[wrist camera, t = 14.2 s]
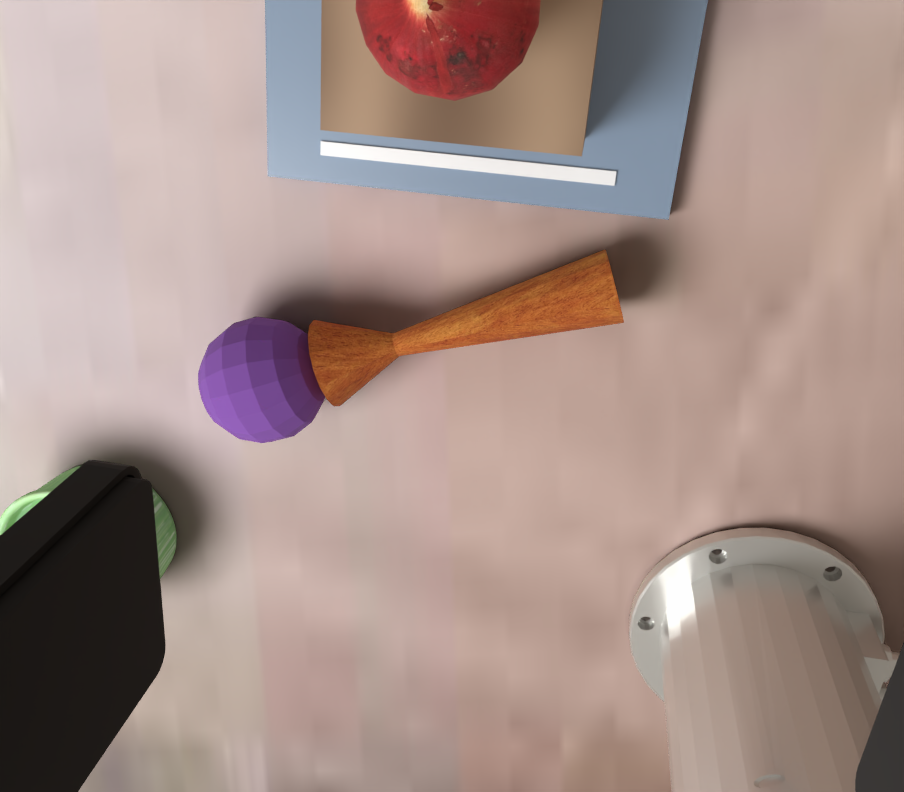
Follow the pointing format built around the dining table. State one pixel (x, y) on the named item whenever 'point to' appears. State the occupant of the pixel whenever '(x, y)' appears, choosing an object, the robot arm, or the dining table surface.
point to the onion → (448, 42)
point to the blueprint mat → (496, 169)
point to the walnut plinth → (476, 117)
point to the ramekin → (28, 501)
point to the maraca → (380, 348)
